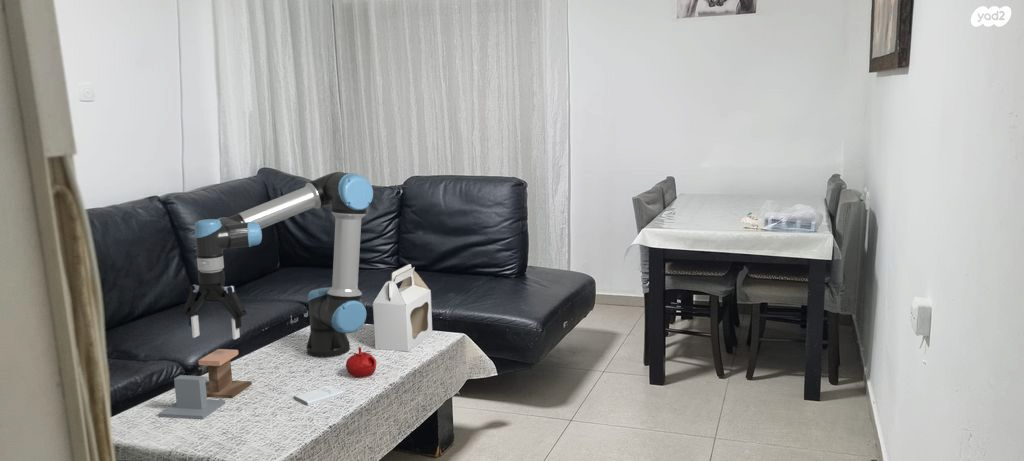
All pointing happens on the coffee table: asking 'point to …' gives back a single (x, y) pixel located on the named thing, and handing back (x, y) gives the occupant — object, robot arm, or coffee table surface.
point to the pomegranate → (361, 364)
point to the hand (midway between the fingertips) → (216, 337)
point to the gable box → (402, 312)
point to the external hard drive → (318, 395)
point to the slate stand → (191, 399)
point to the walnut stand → (224, 382)
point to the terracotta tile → (218, 357)
